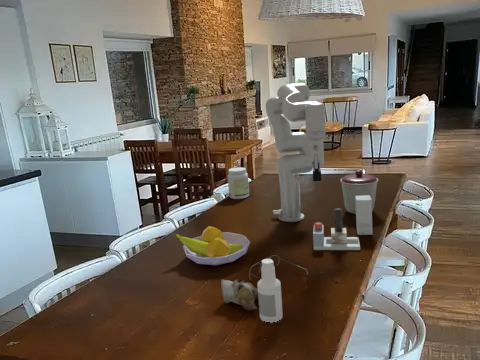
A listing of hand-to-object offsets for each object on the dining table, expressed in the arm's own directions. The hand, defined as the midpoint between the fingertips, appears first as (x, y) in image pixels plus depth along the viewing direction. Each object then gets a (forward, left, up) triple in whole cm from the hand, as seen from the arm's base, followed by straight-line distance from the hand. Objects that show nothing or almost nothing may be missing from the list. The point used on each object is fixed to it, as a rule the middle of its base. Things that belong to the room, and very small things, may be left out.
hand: (317, 180), depth 172 cm
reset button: (0, -2, -20) cm, 20 cm away
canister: (+19, +42, -27) cm, 53 cm away
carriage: (+8, -2, -25) cm, 26 cm away
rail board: (+7, -2, -27) cm, 28 cm away
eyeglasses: (-14, -31, -28) cm, 44 cm away
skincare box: (+19, +13, -27) cm, 36 cm away
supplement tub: (-49, +73, -27) cm, 92 cm away
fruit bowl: (-41, -15, -27) cm, 52 cm away
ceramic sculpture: (-23, -49, -28) cm, 61 cm away
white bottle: (-13, -57, -27) cm, 64 cm away
